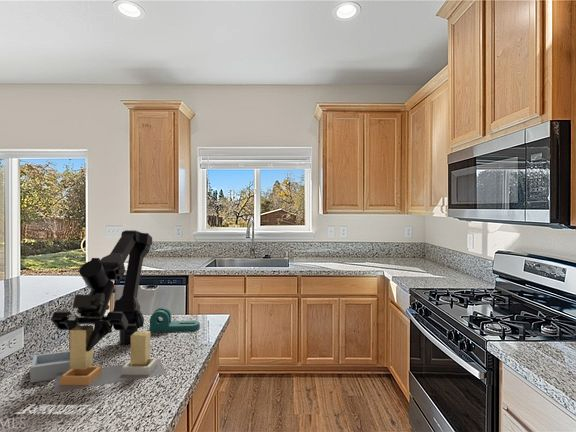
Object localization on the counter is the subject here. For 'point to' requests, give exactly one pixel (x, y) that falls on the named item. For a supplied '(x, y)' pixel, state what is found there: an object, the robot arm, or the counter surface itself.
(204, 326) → the counter surface
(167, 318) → the bracket
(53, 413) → the counter surface
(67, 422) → the counter surface
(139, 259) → the robot arm
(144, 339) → the block
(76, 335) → the block
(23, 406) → the counter surface
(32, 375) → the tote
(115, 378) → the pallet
